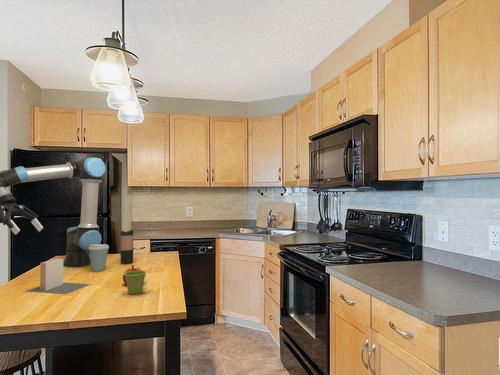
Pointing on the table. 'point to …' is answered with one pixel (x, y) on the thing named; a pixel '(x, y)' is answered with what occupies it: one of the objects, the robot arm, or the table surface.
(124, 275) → the pomegranate
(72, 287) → the mat
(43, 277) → the tile
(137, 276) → the plant pot
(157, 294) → the table surface
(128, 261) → the travel mug
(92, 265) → the disposable coffee cup
